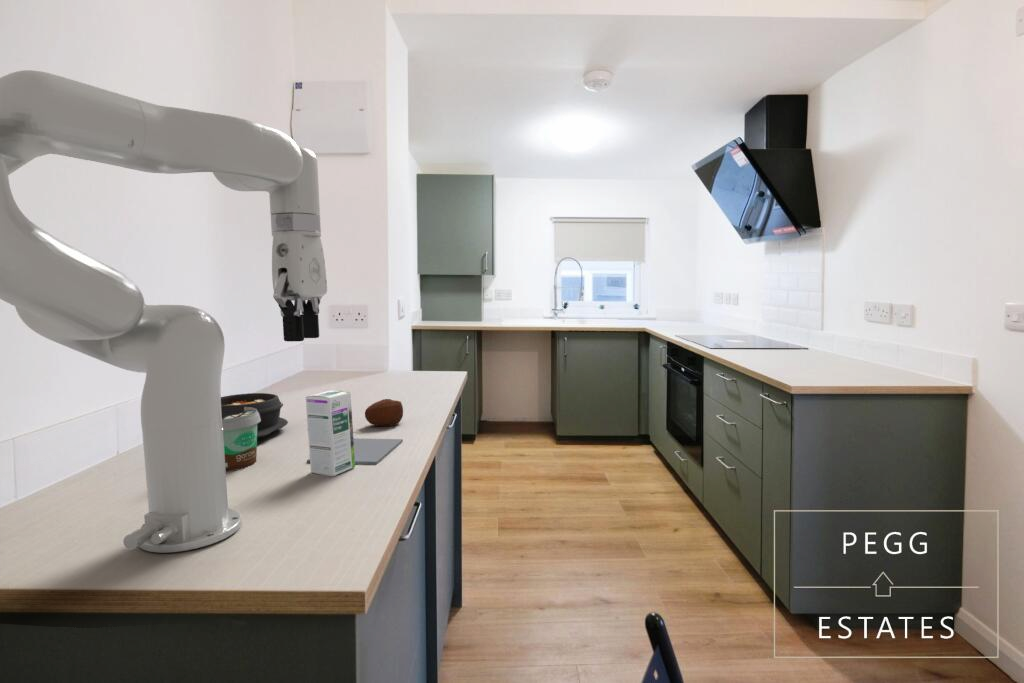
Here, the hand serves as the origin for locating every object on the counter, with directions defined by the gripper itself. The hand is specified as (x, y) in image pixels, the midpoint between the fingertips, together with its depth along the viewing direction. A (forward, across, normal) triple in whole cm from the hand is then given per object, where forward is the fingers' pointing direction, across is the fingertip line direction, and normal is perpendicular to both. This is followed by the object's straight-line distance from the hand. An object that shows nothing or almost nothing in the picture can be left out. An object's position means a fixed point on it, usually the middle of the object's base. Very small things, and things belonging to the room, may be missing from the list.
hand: (302, 338), depth 96 cm
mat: (+25, +21, 0) cm, 33 cm away
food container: (+26, +11, +19) cm, 34 cm away
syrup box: (+26, +9, 0) cm, 27 cm away
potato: (+26, +43, +2) cm, 50 cm away
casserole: (+26, +33, +32) cm, 53 cm away
